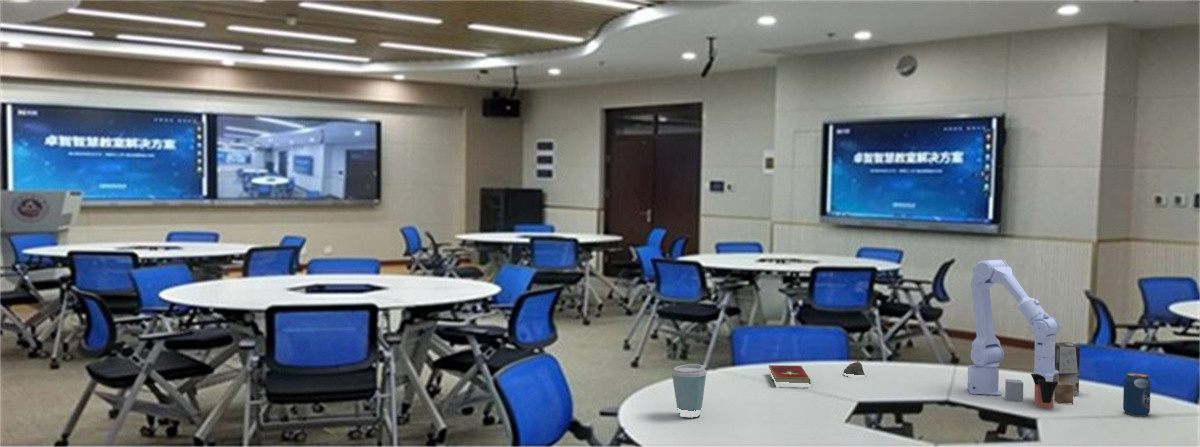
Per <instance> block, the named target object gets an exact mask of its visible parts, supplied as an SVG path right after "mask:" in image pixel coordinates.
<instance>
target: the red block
mask: <svg viewBox="0 0 1200 447" xmlns="http://www.w3.org/2000/svg"><path fill="white" fill-rule="evenodd" d="M1053 394H1054V392H1053ZM1033 396H1034V403H1033V404H1035V406H1036V407H1037V408H1039V406H1040V408H1054V395H1053V396H1052V399H1051V403H1043V401H1042V396H1041V389H1040V386H1039V385H1036V384H1035V383H1034V395H1033Z"/></svg>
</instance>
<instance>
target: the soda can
mask: <svg viewBox="0 0 1200 447" xmlns="http://www.w3.org/2000/svg"><path fill="white" fill-rule="evenodd" d="M1122 397H1123V399H1122V400H1123V402H1122V408H1123V411H1124V413H1125V414H1126V413H1127V414H1126V415H1128V414H1129V416H1133V417H1147V416H1148V415H1149V413H1150V412H1151V379H1150V378H1149V375H1148V374H1146V373H1143V372H1133V371H1132V372H1127V373H1126V374H1125V376H1124V377H1123V396H1122Z"/></svg>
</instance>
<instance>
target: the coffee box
mask: <svg viewBox="0 0 1200 447" xmlns="http://www.w3.org/2000/svg"><path fill="white" fill-rule="evenodd" d="M1080 356H1081V347H1080V346H1079V345H1077V344H1074V343H1073V342H1068V341H1067V342H1061V341H1060V342H1059V341H1058V342H1055V370H1057V371H1059V374H1055V375H1054V376H1053V381H1057V382H1070V383H1071V384H1073V385H1074V387H1073V397H1074V396H1075V397H1079V394H1080V392H1079V391H1080V362H1081V360H1080V359H1081V358H1080Z"/></svg>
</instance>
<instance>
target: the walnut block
mask: <svg viewBox="0 0 1200 447" xmlns="http://www.w3.org/2000/svg"><path fill="white" fill-rule="evenodd" d="M1073 387H1074V385H1073V384H1071V383H1070V382H1058V385H1057V386H1056V388H1055V389H1054V393H1053V401H1055V402H1056V404H1061V403H1072V404H1071V405H1073V404H1074V396H1073Z"/></svg>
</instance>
